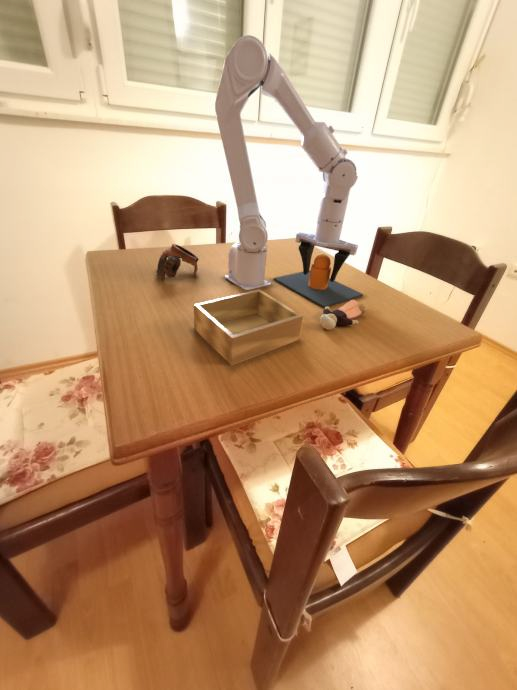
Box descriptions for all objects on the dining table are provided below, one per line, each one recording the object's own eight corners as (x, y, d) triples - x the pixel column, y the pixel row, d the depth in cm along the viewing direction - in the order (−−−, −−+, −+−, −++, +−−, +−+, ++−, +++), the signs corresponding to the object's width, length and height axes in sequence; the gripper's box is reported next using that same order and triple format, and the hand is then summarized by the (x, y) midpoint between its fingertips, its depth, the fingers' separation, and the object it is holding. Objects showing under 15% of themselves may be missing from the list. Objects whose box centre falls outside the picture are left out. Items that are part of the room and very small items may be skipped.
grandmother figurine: (372, 302, 65) (342, 319, 57) (369, 319, 67) (340, 338, 58) (339, 295, 70) (307, 309, 61) (337, 311, 71) (306, 327, 63)
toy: (305, 286, 78) (310, 254, 74) (312, 280, 82) (317, 250, 77) (323, 291, 76) (330, 259, 72) (329, 285, 80) (336, 254, 75)
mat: (273, 279, 81) (273, 278, 81) (311, 271, 89) (311, 269, 88) (323, 308, 70) (324, 306, 69) (362, 295, 77) (363, 294, 77)
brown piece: (158, 268, 82) (172, 240, 80) (190, 286, 84) (205, 259, 82) (145, 273, 71) (160, 241, 69) (182, 294, 73) (199, 263, 71)
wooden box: (194, 331, 57) (193, 304, 54) (257, 313, 65) (259, 288, 62) (231, 367, 49) (232, 338, 46) (298, 342, 57) (302, 315, 54)
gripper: (294, 216, 70) (286, 274, 77) (358, 229, 64) (342, 289, 72) (305, 212, 75) (297, 266, 82) (365, 223, 70) (350, 280, 77)
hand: (319, 276), depth 78 cm, fingers open, 6 cm apart
